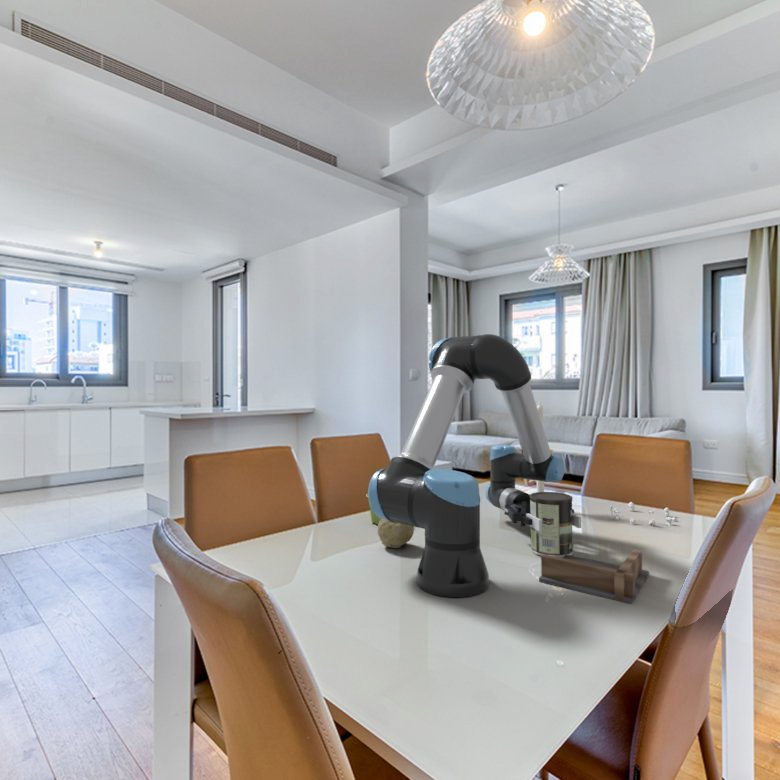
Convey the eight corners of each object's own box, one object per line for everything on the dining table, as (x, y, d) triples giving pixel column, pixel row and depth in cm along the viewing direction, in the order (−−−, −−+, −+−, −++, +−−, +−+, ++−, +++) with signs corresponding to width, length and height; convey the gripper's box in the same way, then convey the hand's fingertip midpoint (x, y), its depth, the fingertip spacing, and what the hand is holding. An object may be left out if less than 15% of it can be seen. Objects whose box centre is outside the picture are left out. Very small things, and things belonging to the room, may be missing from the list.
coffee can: (564, 544, 127) (564, 491, 127) (579, 558, 117) (578, 500, 117) (525, 544, 127) (524, 491, 127) (536, 558, 117) (536, 500, 117)
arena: (631, 603, 92) (631, 577, 92) (539, 581, 103) (538, 558, 103) (649, 574, 106) (648, 551, 106) (566, 557, 117) (566, 537, 117)
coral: (423, 516, 131) (406, 508, 123) (413, 554, 128) (396, 549, 120) (393, 509, 136) (376, 501, 128) (383, 545, 133) (365, 540, 125)
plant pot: (396, 526, 146) (396, 497, 146) (365, 526, 146) (365, 498, 146) (396, 518, 155) (396, 491, 155) (367, 518, 155) (367, 491, 155)
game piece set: (607, 508, 166) (607, 497, 166) (675, 515, 157) (675, 503, 157) (606, 523, 148) (606, 510, 148) (682, 531, 139) (682, 517, 139)
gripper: (553, 513, 142) (601, 536, 120) (481, 519, 137) (518, 543, 115) (552, 488, 142) (601, 506, 120) (481, 492, 137) (517, 511, 115)
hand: (560, 524), depth 118 cm, fingers closed on coffee can, 10 cm apart
